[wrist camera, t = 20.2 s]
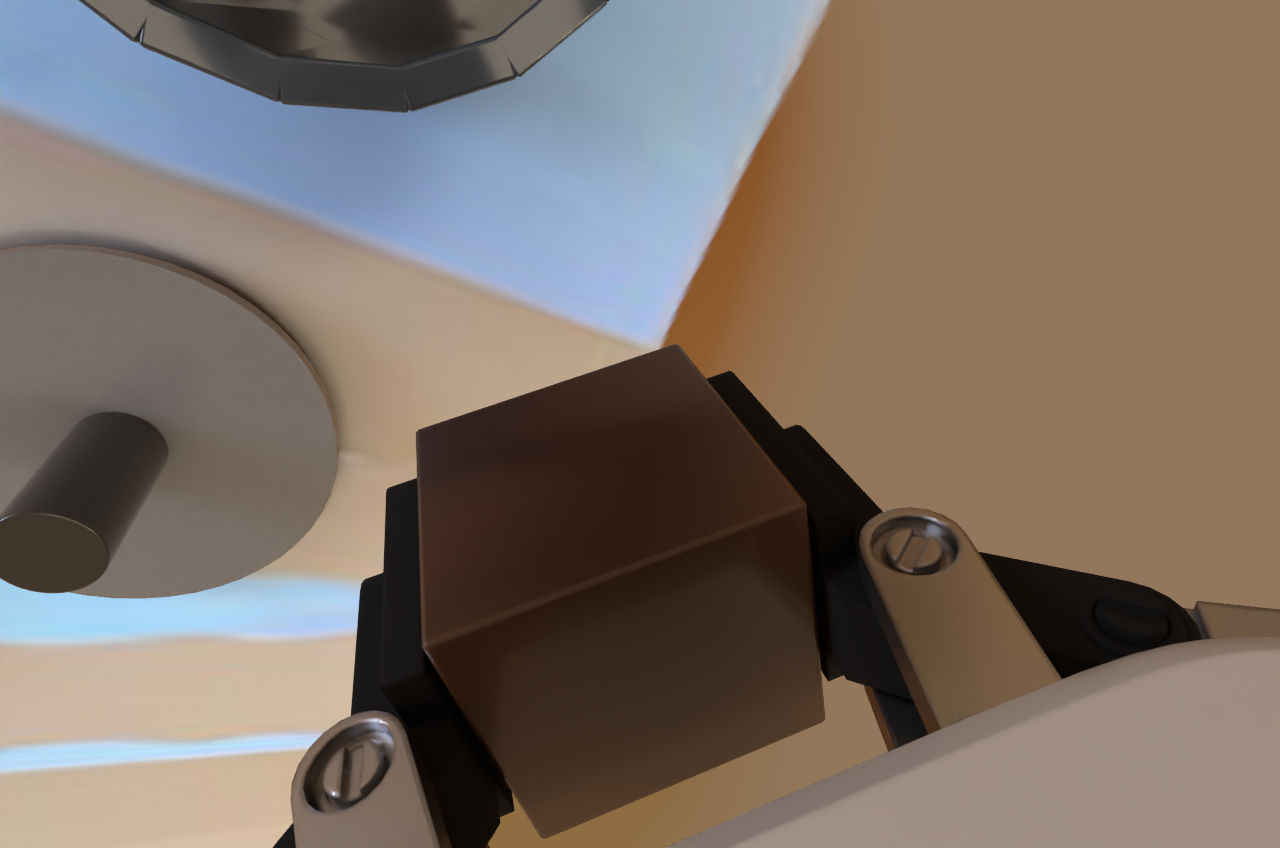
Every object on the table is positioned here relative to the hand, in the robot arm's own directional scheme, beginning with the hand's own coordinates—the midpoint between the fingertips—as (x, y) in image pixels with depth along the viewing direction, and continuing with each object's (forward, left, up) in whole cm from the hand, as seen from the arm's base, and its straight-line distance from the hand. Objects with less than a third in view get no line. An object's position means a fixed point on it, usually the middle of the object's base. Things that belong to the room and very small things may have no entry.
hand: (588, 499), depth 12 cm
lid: (+6, -13, -15) cm, 20 cm away
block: (0, 0, 0) cm, 0 cm away
